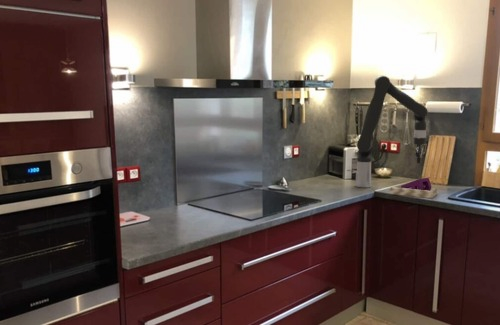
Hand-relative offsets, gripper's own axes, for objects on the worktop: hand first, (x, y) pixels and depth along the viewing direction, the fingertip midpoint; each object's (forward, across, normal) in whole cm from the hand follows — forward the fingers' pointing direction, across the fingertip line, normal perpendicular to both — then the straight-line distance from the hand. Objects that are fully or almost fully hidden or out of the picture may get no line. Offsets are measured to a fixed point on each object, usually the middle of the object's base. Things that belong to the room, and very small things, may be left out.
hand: (418, 162), depth 297 cm
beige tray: (+17, +19, +1) cm, 26 cm away
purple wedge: (+18, +11, 0) cm, 21 cm away
